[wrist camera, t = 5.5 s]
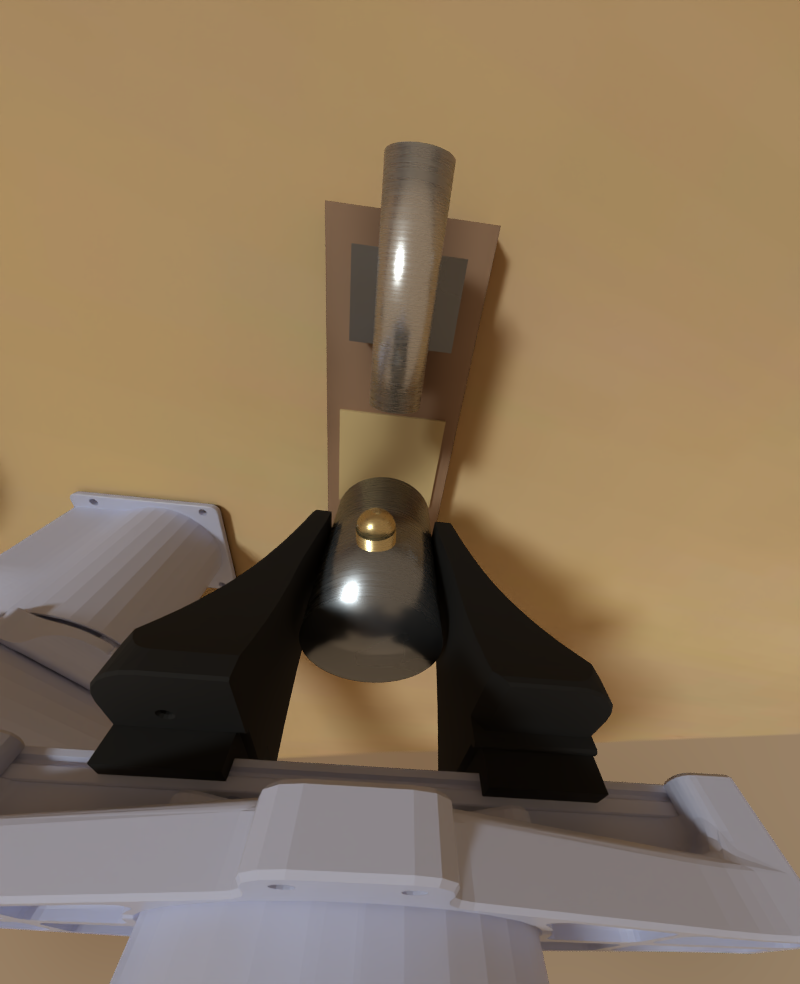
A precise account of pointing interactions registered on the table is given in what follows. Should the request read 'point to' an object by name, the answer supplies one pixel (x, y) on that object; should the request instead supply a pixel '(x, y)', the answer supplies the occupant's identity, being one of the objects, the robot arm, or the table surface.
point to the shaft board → (350, 419)
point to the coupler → (375, 588)
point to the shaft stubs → (407, 276)
